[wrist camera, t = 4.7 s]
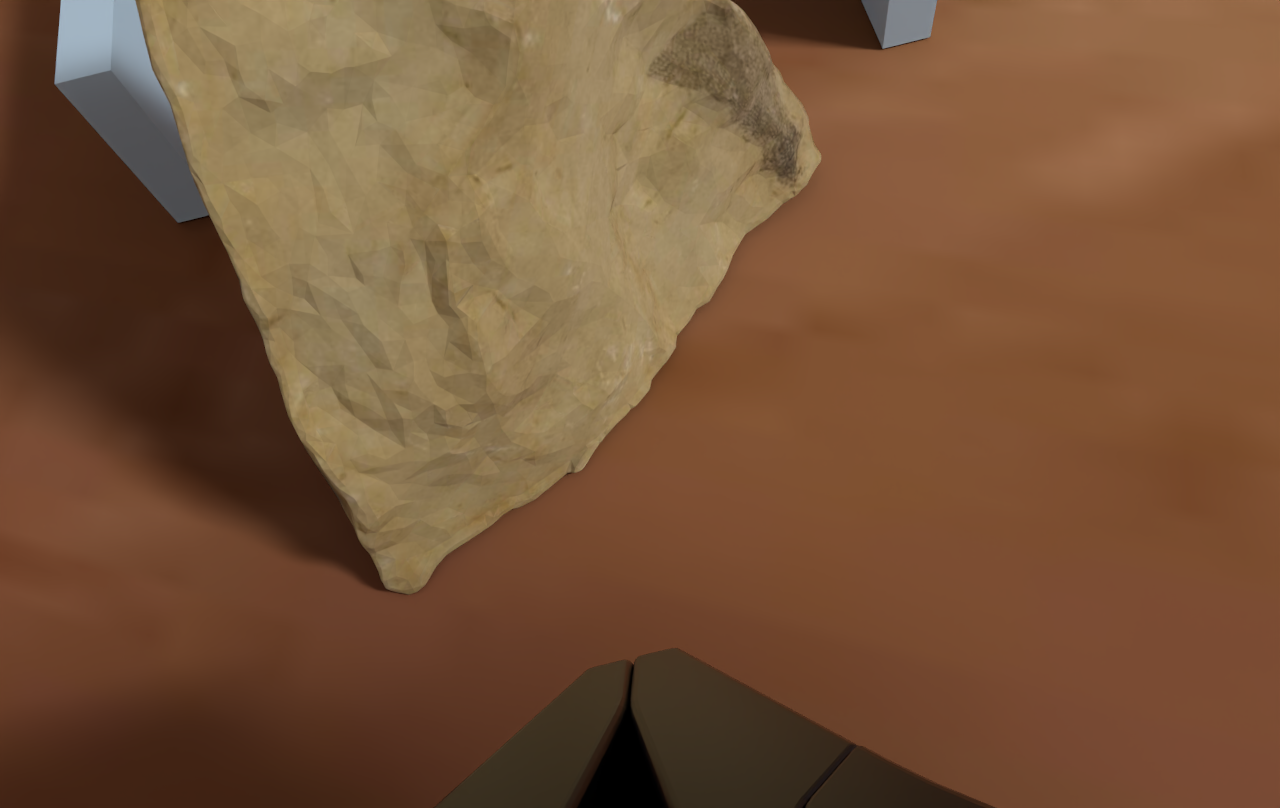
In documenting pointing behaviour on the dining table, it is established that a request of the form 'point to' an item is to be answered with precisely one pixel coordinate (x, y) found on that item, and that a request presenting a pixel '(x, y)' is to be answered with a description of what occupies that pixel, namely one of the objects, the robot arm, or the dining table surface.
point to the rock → (472, 224)
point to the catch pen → (142, 116)
